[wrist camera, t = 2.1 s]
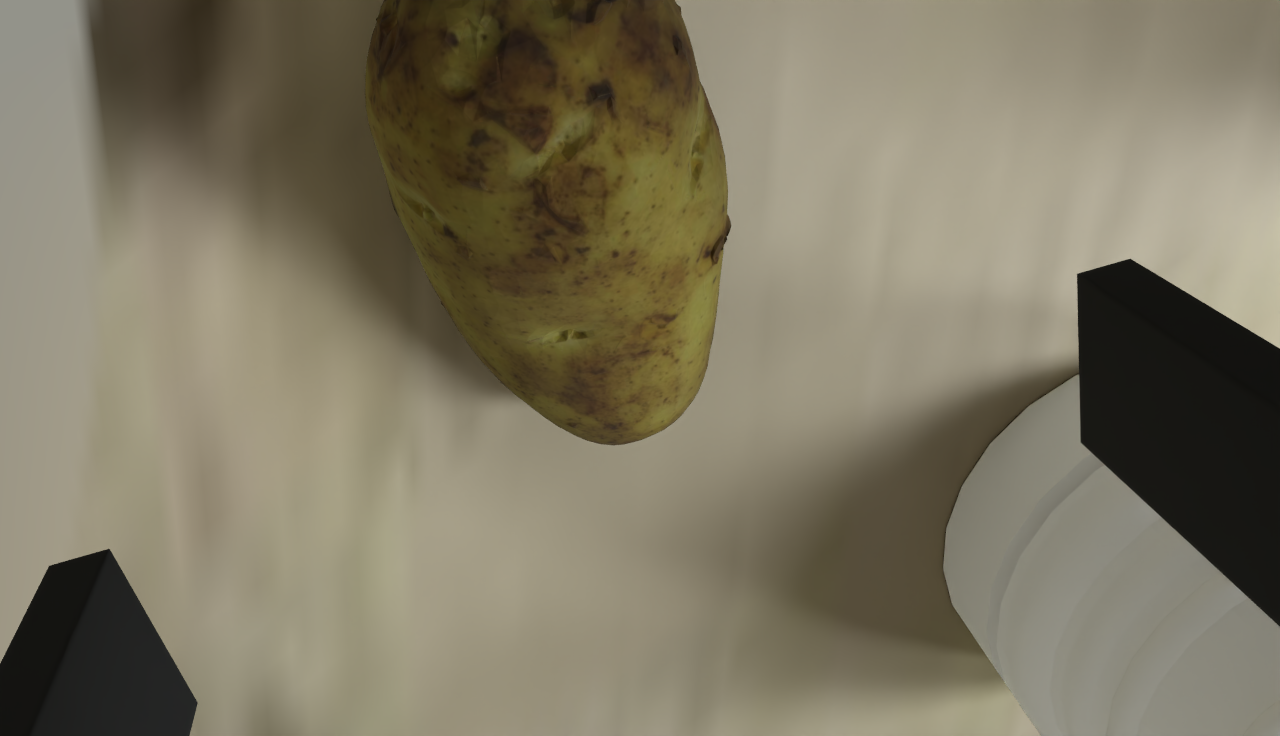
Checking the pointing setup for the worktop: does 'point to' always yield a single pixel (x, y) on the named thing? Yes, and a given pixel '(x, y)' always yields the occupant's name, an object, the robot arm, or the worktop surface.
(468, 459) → the worktop surface
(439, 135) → the potato
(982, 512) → the honey pot
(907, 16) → the worktop surface
